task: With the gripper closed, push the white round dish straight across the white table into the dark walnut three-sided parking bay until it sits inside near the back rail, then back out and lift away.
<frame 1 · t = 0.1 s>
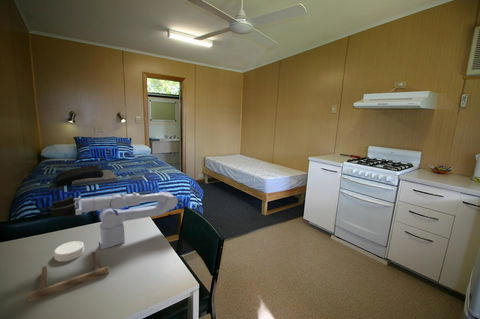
hand: (51, 209, 84), 22 cm above the table, tool horizontal, fingers open, 7 cm apart
walnut bay: (71, 273, 80), on the table
white round dish: (70, 254, 91), on the table
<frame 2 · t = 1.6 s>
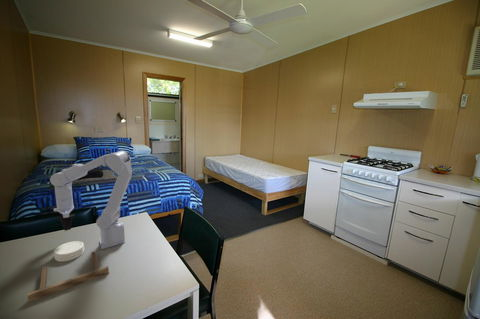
hand: (67, 226, 97), 8 cm above the table, tool pointing down, fingers open, 7 cm apart
nothing on the table moved.
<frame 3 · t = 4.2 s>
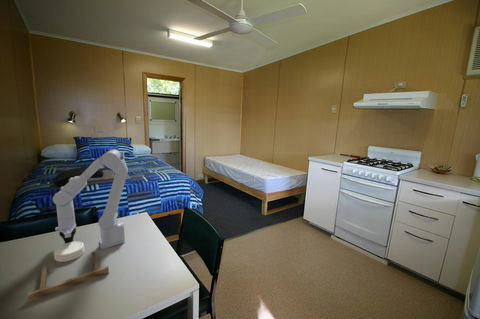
hand: (69, 244, 95), 1 cm above the table, tool pointing down, fingers closed
white round dish: (70, 255, 91), on the table, touching gripper
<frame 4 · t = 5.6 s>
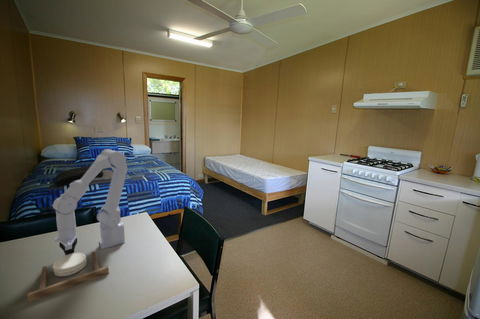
hand: (70, 256, 87), 1 cm above the table, tool pointing down, fingers closed
white round dish: (70, 268, 83), on the table, touching gripper
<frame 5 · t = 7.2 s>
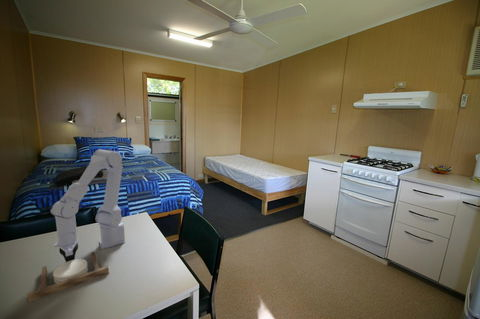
hand: (70, 262, 84), 1 cm above the table, tool pointing down, fingers closed
white round dish: (71, 275, 80), on the table
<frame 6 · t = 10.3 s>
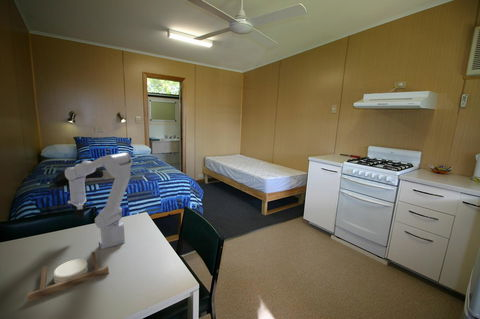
hand: (80, 218, 103), 9 cm above the table, tool pointing down, fingers closed
nothing on the table moved.
at the end: white round dish inside the target area (0.4 cm from its centre), on the table; white round dish tilted 0° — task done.
